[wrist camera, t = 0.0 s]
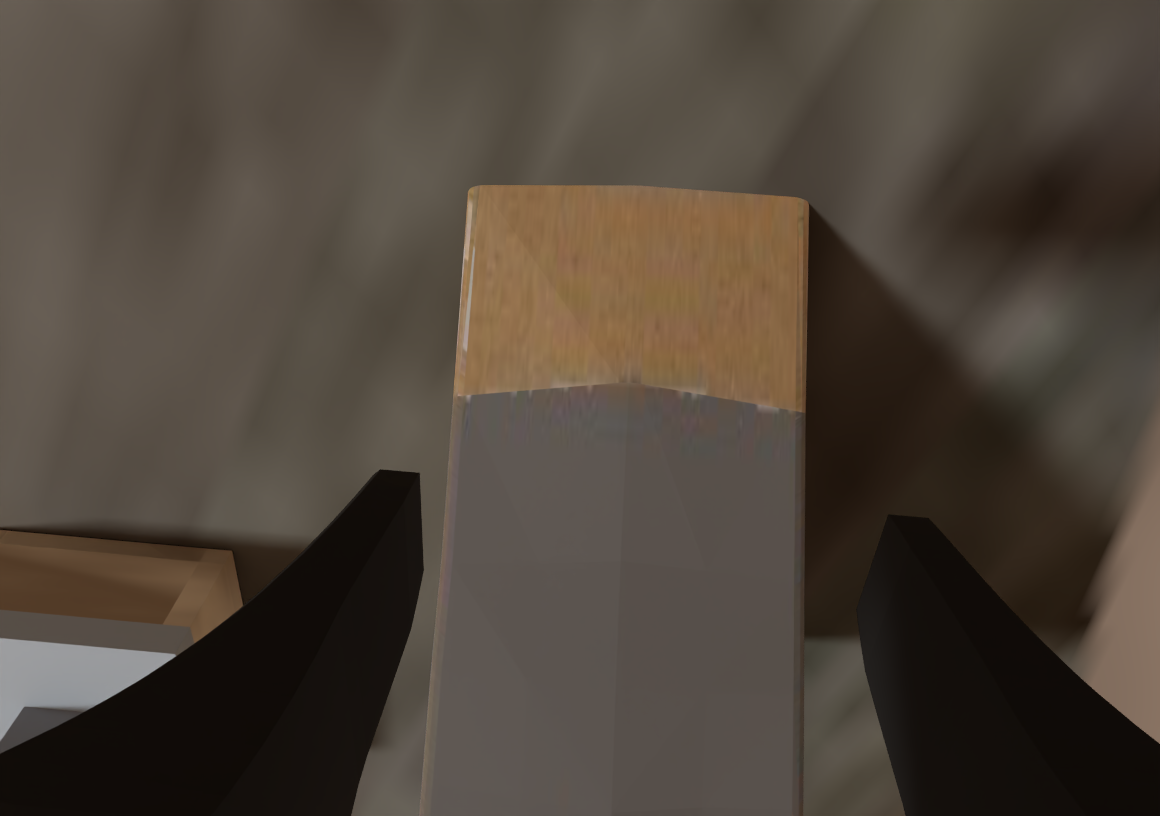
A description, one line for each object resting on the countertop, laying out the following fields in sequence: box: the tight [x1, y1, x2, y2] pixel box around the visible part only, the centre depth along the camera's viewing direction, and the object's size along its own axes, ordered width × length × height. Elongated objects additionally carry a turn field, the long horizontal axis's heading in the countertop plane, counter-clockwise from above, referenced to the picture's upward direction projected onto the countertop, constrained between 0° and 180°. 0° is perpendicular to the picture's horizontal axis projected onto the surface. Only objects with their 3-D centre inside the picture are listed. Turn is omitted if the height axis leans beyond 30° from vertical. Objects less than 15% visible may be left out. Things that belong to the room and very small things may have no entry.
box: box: [0, 530, 243, 643], centre depth 30 cm, size 10×8×3 cm
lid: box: [0, 610, 194, 753], centre depth 27 cm, size 10×8×3 cm
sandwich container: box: [419, 185, 809, 816], centre depth 19 cm, size 9×15×15 cm, turn 179°
